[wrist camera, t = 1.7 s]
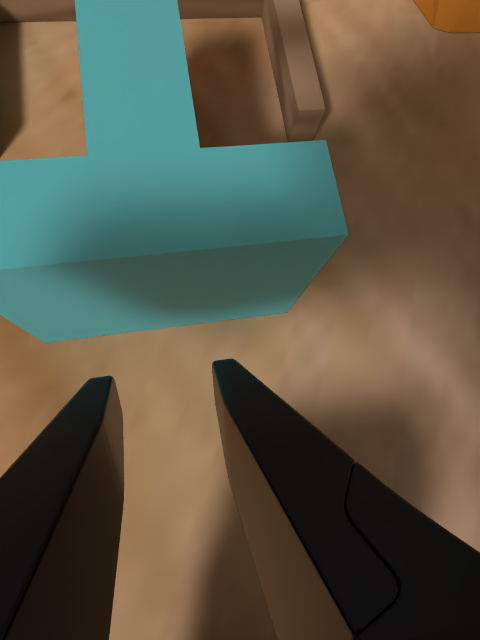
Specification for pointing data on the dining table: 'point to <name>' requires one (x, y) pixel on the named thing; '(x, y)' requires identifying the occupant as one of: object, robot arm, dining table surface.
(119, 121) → the t block
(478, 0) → the decorative tree
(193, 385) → the dining table surface
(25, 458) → the robot arm
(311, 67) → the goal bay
